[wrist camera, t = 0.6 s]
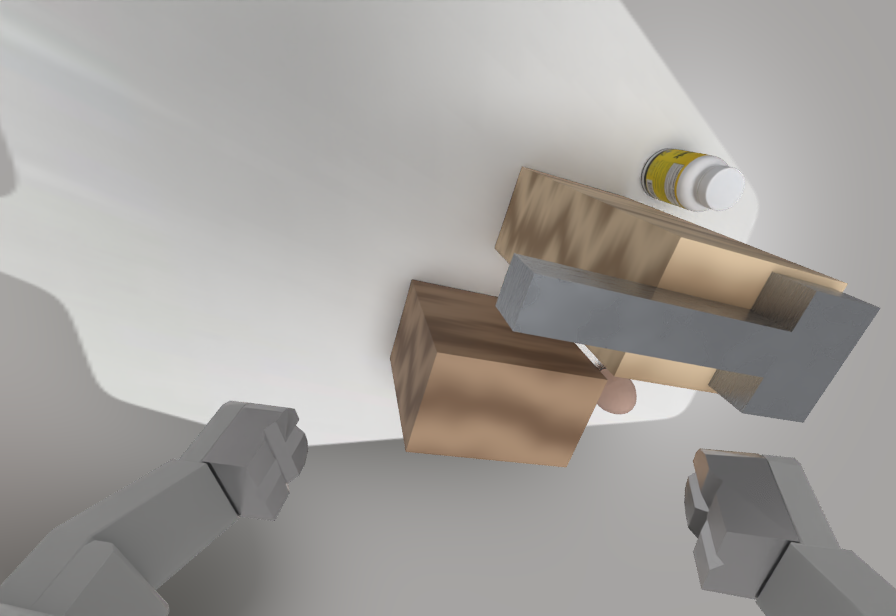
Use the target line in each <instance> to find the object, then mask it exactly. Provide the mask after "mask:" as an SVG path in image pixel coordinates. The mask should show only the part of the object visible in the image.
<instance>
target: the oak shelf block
mask: <svg viewBox="0 0 896 616" xmlns="http://www.w3.org/2000/svg"><path fill="white" fill-rule="evenodd" d="M495 249H496V250H497V251H498V252H499V253H500V255H501V256H502V257H503V258H504V259H505V260H506V261H507V262H508V263H509V264H510V262H511V259H512V257H513V254H514V253H516V254H520V255H524V256H528V257H532V258H537V259H541V260H545V261H549V262H553V263H558V264H562V265H566V266H570V267H574V268H579V269H583V270H587V271H591V272H595V273H600V274H604V275H608V276H612V277H616V278H621V279H625V280H629V281H633V282H637V283H642V284H646V285H650V286H654V287H658V288H663V289H667V290H671V291H675V292H679V293H684V294H688V295H692V296H696V297H700V298H705V299H709V300H713V301H717V302H721V303H726V304H730V305H734V306H738V307H742V308H747V309H751V308H752V306H753V304H754V303H755V301H756V299H757V297H758V295H759V294H760V292H761V290H762V288H763V287H764V285H765V283H766V281H767V280H768V278H769V276H770V274H771V273H772V272H775V273H779V274H782V275H786V276H790V277H793V278H797V279H801V280H804V281H808V282H812V283H815V284H819V285H823V286H826V287H830V288H833V289H836V290H838V291H840V292H843V291H844V289H845V287H846V286H847V283H844V282H842V281H839V280H836V279H834V278H832V277H829V276H826V275H824V274H821V273H819V272H816V271H814V270H811V269H809V268H806V267H803V266H801V265H798V264H796V263H793V262H790V261H788V260H785V259H783V258H780V257H778V256H775V255H773V254H770V253H767V252H765V251H762V250H760V249H757V248H754V247H752V246H750V245H747V244H744V243H742V242H739V241H737V240H734V239H732V238H729V237H727V236H724V235H721V234H719V233H716V232H714V231H711V230H709V229H706V228H703V227H701V226H698V225H696V224H693V223H691V222H688V221H686V220H683V219H680V218H678V217H675V216H673V215H670V214H668V213H665V212H662V211H660V210H657V209H655V208H652V207H650V206H647V205H644V204H642V203H639V202H637V201H634V200H632V199H629V198H626V197H623V196H620V195H616V194H613V193H610V192H606V191H603V190H600V189H596V188H593V187H590V186H586V185H583V184H579V183H576V182H573V181H569V180H566V179H563V178H559V177H556V176H553V175H549V174H546V173H543V172H539V171H536V170H533V169H529V168H526V167H522V168H521V171H520V174H519V177H518V180H517V183H516V186H515V189H514V192H513V195H512V198H511V201H510V204H509V207H508V210H507V213H506V216H505V219H504V222H503V225H502V228H501V231H500V234H499V237H498V239H497V242H496V245H495ZM584 345H585V344H584ZM585 346H586V347H587V348H588V349H589V350H590V351H591V352H592V353H593V354H594V355H595V356H596V357H597V359H598V360H599V361H600V362H601V363H602V364H603V365H604V366H605V367H606V368H607V369H608V370H609V371H610V372H611V374H612V375H613V376H615V377H621V378H627V379H633V380H639V381H645V382H651V383H657V384H663V385H669V386H675V387H681V388H687V389H693V390H699V391H705V392H711V393H717V392H716V391H715V390H713V389H712V388H711V387H710V386H708V384H709V382H710V380H711V378H712V377H713V375H714V373H715V371H716V370H717V369H714V368H709V367H703V366H698V365H693V364H687V363H682V362H676V361H671V360H666V359H660V358H655V357H649V356H644V355H639V354H633V353H628V352H622V351H617V350H612V349H606V348H601V347H595V346H590V345H585ZM717 394H718V393H717Z"/></svg>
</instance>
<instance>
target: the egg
mask: <svg viewBox="0 0 896 616" xmlns="http://www.w3.org/2000/svg"><path fill="white" fill-rule="evenodd" d="M600 372H601V373H602V374H603V375H604V376H605V377H606V379H607V380H608V381H607V383H606V385H605V387H604V389H603V391H602V393H601V396H600V398H599V400H598V402H597V404H598V405H599V406H600V407H601V408H602V409H603V410H605V411H607V412H610V413H613V414H625V413H628V412H629V411H631V410H632V409H633V407H634V406H635V404H636V389H635V386H634V384H633V383H632V381H631V380H630V379H627V378H621V377H615V376H613V375H612V374H611V372H610V371H609V370H608V369H603V370H601V371H600Z"/></svg>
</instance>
